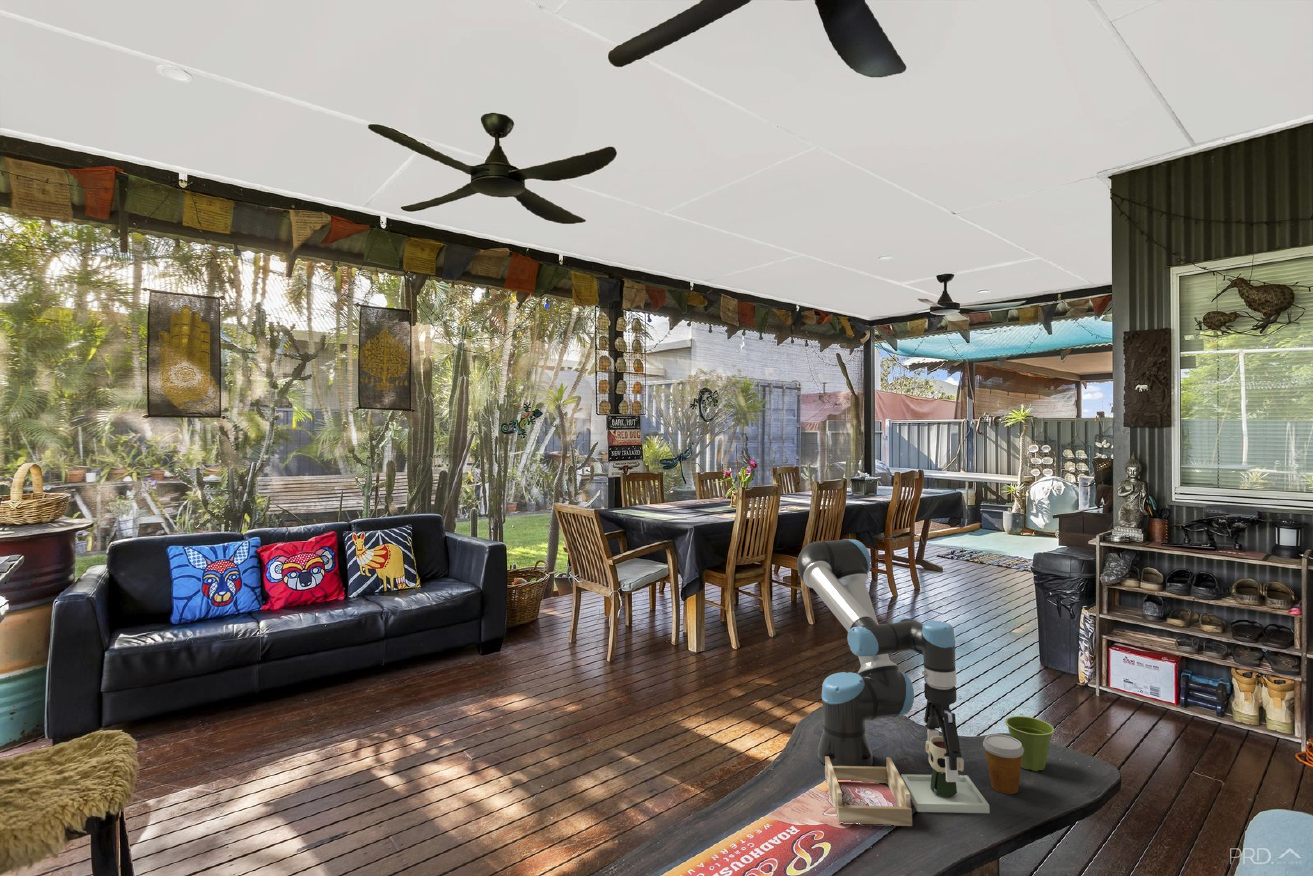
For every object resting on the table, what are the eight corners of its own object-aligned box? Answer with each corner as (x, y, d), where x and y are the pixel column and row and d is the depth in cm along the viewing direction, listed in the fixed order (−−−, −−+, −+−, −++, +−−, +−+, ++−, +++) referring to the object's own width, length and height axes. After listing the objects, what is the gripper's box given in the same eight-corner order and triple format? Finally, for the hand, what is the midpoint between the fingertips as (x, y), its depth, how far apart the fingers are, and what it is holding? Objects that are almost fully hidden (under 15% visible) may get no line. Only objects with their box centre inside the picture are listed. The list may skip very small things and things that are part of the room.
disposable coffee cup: (1031, 799, 165) (1029, 751, 165) (990, 796, 167) (988, 749, 167) (1018, 779, 174) (1016, 734, 174) (979, 777, 176) (978, 732, 176)
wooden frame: (825, 780, 177) (824, 754, 177) (890, 781, 175) (889, 755, 175) (839, 824, 157) (838, 795, 157) (912, 826, 155) (911, 796, 155)
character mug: (916, 785, 170) (916, 736, 170) (934, 777, 174) (935, 729, 173) (953, 808, 161) (954, 756, 160) (971, 799, 164) (972, 748, 164)
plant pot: (1045, 781, 173) (1043, 738, 173) (998, 764, 183) (997, 724, 183) (1062, 766, 181) (1061, 725, 181) (1017, 751, 190) (1016, 712, 190)
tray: (901, 782, 175) (901, 774, 175) (967, 783, 174) (967, 775, 174) (917, 811, 161) (917, 803, 161) (989, 813, 160) (989, 805, 160)
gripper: (910, 667, 180) (912, 744, 180) (941, 704, 155) (944, 793, 155) (938, 667, 179) (941, 744, 179) (974, 704, 155) (977, 794, 155)
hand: (942, 767), depth 167 cm, fingers open, 13 cm apart
